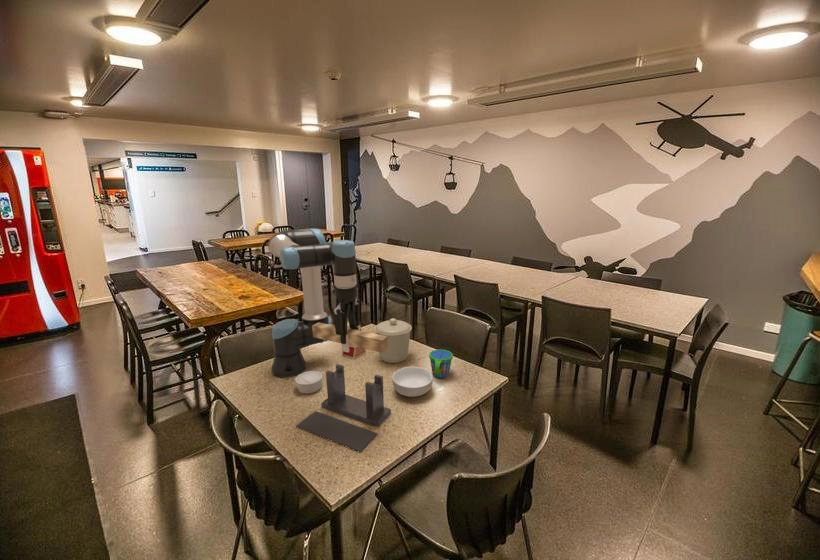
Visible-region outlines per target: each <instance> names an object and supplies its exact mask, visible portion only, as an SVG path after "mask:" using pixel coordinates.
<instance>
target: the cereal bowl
mask: <svg viewBox="0 0 820 560" xmlns="http://www.w3.org/2000/svg"><path fill="white" fill-rule="evenodd" d="M433 377H434V376H433V374H432V372H431V371H429V370H428V369H426V368H423V367H419V366H405V367H402V368H399V369H397V370H395V371H394V372H393V374H392V377H391V379H392V386H393V387H394V389H395V391H396V392H397V393H399V394H401V395H402V396H406V397H419V396H423V395H425V394H426V393H427V392H428V391H430V389H431V388H432V386H433V382H434V379H433Z"/></svg>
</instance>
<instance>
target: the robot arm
mask: <svg viewBox="0 0 820 560" xmlns="http://www.w3.org/2000/svg"><path fill="white" fill-rule="evenodd" d="M267 247H268V250H269V252H270V253H271V254H272V255H273V256H274V257H276V258H279V259H280V263H281V266H282V268H283V269H284V270H297V269H300V273H301V274H300V275H301V284H302V295H303V307H304V314H303V315H302V316H301V320H302V321H301V320H300V321H299V320H298V319H296V318H286V319H282V320H281V321H278V322H276V323H275V324H274V325H273V326H272V328H271V338H272V343H273V353H274V358H273V363H272V365H271V373H272V374H273V376H276V377H278V378H279V377H280V378H290V377H294V376H298V375H299V374H301V373H304V372H305V370H306V369H307V364H306V363H307V362H306V361H305V358H304V355H303V354H302V351H301V350H302V349H301V347H306V346H311V345H316V344H322V343H324V342H325V343H326V342H329V341H328V340H324V339H319V338H315V337H313V330H312V326H313V325H315V324H317V323H324V324H329V325H333V322H332V321H334V326H335V331H336V335H340V338H341V343H340V345H341V351H342V352H343V351H344V352H349V346H350V345H349V336H348V334H347V321H349V327H350V328H351V329H353V330H358V329H359V327H357V326H359V325H360V326H361V319H360V318H361V317H360V316H361V315H360V311H361V310H360V308H361V307H360V305H361V299H357V297H358V286H357V259H356V252H357V251H356V246H355V242H354V241H353V240H348V239H343V240H341V239H340V240H335V241H327V242H326V238H325V235H324V234H323V232H322V231H321V230H320V229H319V228H301V229H286V230H281V231H279V232H277V233H275V234H273V235H272V236H271V237H270V239H269V240H268V245H267ZM329 265H333V281H334V297H335V298H336V299H337V304H336V307H333V308H332V310H331V311H332V314H333V320H332V318H331V317H330V316H328V313H327V312H325V310H324V300H323V297H324V296H323V287H322V275H321V273H322V272H321V266H329ZM350 347H354V348H356V347H355V346H350Z"/></svg>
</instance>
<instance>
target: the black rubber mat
mask: <svg viewBox="0 0 820 560" xmlns="http://www.w3.org/2000/svg"><path fill="white" fill-rule="evenodd" d="M295 427H296V428H297V427H298V428H297V429H300V428H301V429H300V430H302V429H304V430H303V431H305V430H306V431H305V432H307V431H309V432H308V433H310V432H311V433H310V434H312V433H313V435H315V434H316V435H315V436H317V435H318V436H317V437H320V436H321V437H320V438H322V437H324V438H323V439H325V438H326V439H325V440H327V439H329V440H328V441H330V440H332V441H334V442H333V443H335V442H337V443H339V444H338V445H340V444H341V445H340V446H342V445H344V446H343V447H345V446H347V447H349V448H348V449H350V448H351V449H350V450H352V449H354V450H353V451H355V450H356V451H355V452H357V451H359V452H358V453H360V452H361V451H362V450H363V449H364V448H365V449H366V448H367V446H368V445H369V444H370V443H372V441H373V440H374V439H375V438H376V437H377V436H378V433H377V432H376V431H373V430H370V429H367V428H365V427H362V426H359V425H356V424H353V423H350V422H348V421H345V420H342V419H339V418H336V417H333V416H331V415H328V414H325V413H322V412H320V411H317V410H314V411H313V412H311V413H310V414H309V415H308V416H307V417H305V418H304V419H303V420H302V421H300V422H299V423H298V424H296V425H295ZM332 441H331V442H332ZM337 443H336V444H337ZM347 447H346V448H347ZM365 449H364V450H365ZM364 450H363V451H364ZM363 451H362V452H363ZM362 452H361V453H362Z"/></svg>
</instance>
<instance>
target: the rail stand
mask: <svg viewBox="0 0 820 560" xmlns="http://www.w3.org/2000/svg"><path fill="white" fill-rule="evenodd" d="M325 379H326V380H325V381H326V393H327V395H326V396H327V398H326V399H325V400H323V401H322V402H321V408H322V409H325V410H327V411H330V412H334V413H336V412H337V413H336V414H339V415H342V416H345V417H348V418H350V419H354V420H357V421H359V422H362V423H365V424H367V425H370V426H374V427H377V428H379V427H380V426H381V425H382V424H383V422H385V421H386V420H387V418H388V417H389V416H391V414H392V409H391V408H389V407H385V401H384V397H385V396H384V376H382V375H379V374H375V375H374V377H373V379H374V381H373V382H371V381H366V382H365V385H364V387H365V400H363V399H361V398H357V397H354V396H351V395H348V394H346V383H345V381H346V380H345V379H346V378H345V365H343V364H341V363H340V364H339V363H337V364H336V365H335V371H331V370H327V371H325Z"/></svg>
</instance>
